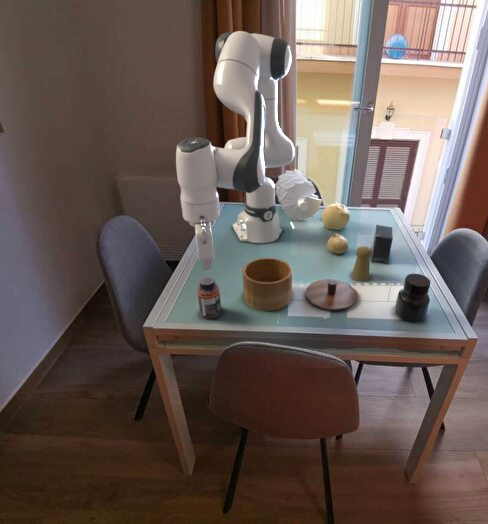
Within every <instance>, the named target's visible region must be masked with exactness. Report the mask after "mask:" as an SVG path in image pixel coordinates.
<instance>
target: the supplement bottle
mask: <svg viewBox="0 0 488 524" xmlns="http://www.w3.org/2000/svg"><path fill="white" fill-rule="evenodd" d="M196 293H197V300H198V307H199V312H200V316H201V317H203V318H205V319H215V318H216V317H219V316H220V315H221V313H222V302H221V294H220V293H221V292H220V287H219V285H218V284H217V283H216V281H215V278H214V277H213V276H204V277H202V278H200V279H199V285H198V287H197V289H196Z"/></svg>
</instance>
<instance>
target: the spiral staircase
mask: <svg viewBox="0 0 488 524" xmlns="http://www.w3.org/2000/svg"><path fill="white" fill-rule="evenodd" d="M277 178H278V180H277V181H276V183H274V185H275V197H277V201H278V202H279V204H280V206H281V209H282V210H283V211H284V215H288V217H290V218H291V220H293V221H295V220H298V221H305V220H307V219H311V218H314V216H315V215H316V214H317V213H318V212H319V211H320V210H321V209H320V207H321V205H322V203H323V199H320V198H319V195H317V194H316V193H317V190H316V187H315V184H313V182H312V180H308V178H307V176H306V174H305V172H304V171H302V172H300V171H299V170H298V169H297V168H295V169H294V170H285V173H283V174H280V175H278V177H277Z"/></svg>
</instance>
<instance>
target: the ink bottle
mask: <svg viewBox="0 0 488 524" xmlns="http://www.w3.org/2000/svg"><path fill="white" fill-rule="evenodd" d="M431 283H432V282H431V280H430V278H429V277H428V276H425V275H424V274H421V273H413V272H412V273H409V274H407V275H406V276H405V278H404V283H403V287H402V288H401V289H399V291H398V293H397V297H396V302H395V306H394V312H395V314H396V315H397V316H398V318H400V319H401V320H403V321H404V322H409V323H420V322H422V321H424V320H425V319H426V316H427V313H428V309H429V306H430V302H431V299H430V295H429V290H430V287H431Z"/></svg>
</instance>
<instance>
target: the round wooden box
mask: <svg viewBox="0 0 488 524" xmlns="http://www.w3.org/2000/svg"><path fill="white" fill-rule="evenodd" d="M241 273H242V290H243V291H242V292H243V293H242V294H243V300H244V302H245V304H246V305H247V306H249V307H250V308H252V309H255V310H259V311H265V312H267V311H268V312H269V311H277V310H279V309H282V308H284V307H286V306H287V305H288V304H289V303H290V302H291V300H292V291H293V290H292V289H293V268H292V265H291V264H289V263H288V262H287V261H285V260H282V259H279V258H275V257H261V258H255V259H253V260H251V261H249V262H247V263H246V264H245V265H244V266H243V268H242V271H241Z"/></svg>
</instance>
